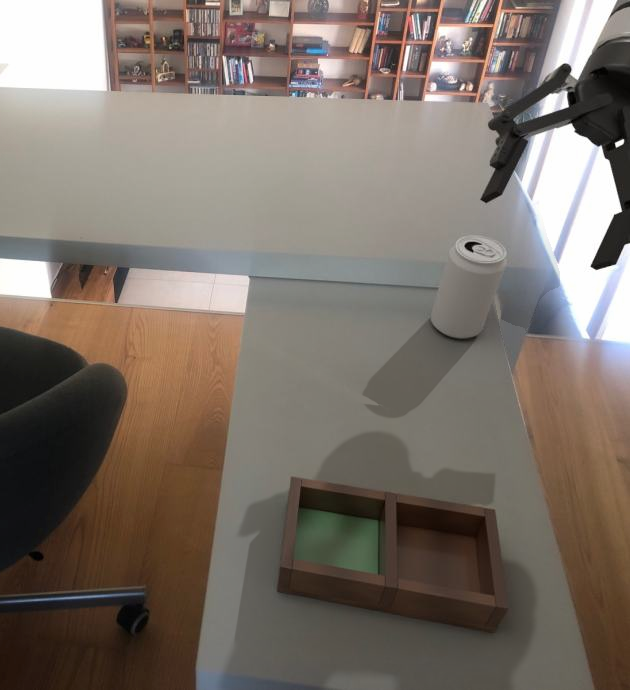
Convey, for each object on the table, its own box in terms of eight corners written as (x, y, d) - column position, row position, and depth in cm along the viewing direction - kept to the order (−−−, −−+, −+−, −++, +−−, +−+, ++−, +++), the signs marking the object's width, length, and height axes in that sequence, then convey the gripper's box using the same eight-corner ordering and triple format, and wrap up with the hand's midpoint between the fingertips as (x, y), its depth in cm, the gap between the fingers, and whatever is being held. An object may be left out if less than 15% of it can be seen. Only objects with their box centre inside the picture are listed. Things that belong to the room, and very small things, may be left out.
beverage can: (444, 303, 92) (467, 226, 84) (490, 324, 89) (519, 246, 80) (419, 326, 89) (441, 249, 81) (467, 349, 85) (494, 270, 77)
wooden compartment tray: (482, 535, 66) (495, 509, 63) (494, 633, 59) (509, 609, 56) (287, 502, 70) (291, 476, 67) (276, 591, 63) (280, 566, 60)
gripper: (693, 139, 78) (620, 299, 74) (507, 22, 76) (424, 181, 73) (757, 109, 70) (680, 286, 67) (553, -21, 69) (463, 154, 66)
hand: (546, 232), depth 70 cm, fingers open, 13 cm apart
